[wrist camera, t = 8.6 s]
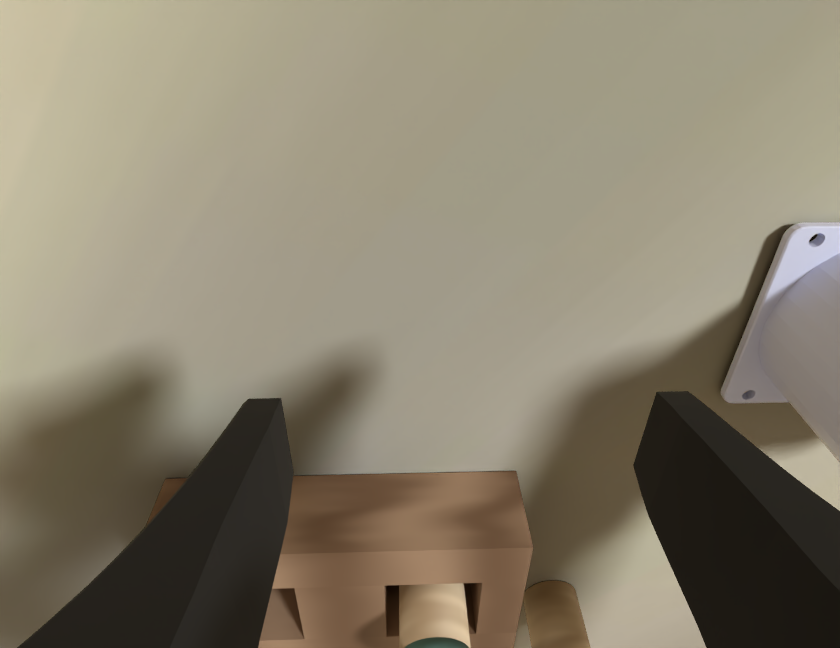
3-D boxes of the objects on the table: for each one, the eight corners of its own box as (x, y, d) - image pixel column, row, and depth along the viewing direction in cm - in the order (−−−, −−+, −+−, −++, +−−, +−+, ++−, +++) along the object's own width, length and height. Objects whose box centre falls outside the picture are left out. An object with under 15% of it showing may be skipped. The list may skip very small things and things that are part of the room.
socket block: (516, 471, 27) (533, 547, 23) (499, 582, 32) (511, 657, 28) (165, 478, 26) (132, 558, 23) (205, 590, 31) (182, 669, 28)
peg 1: (451, 508, 28) (466, 658, 22) (463, 544, 30) (479, 692, 24) (391, 518, 28) (391, 670, 22) (406, 554, 30) (409, 702, 24)
